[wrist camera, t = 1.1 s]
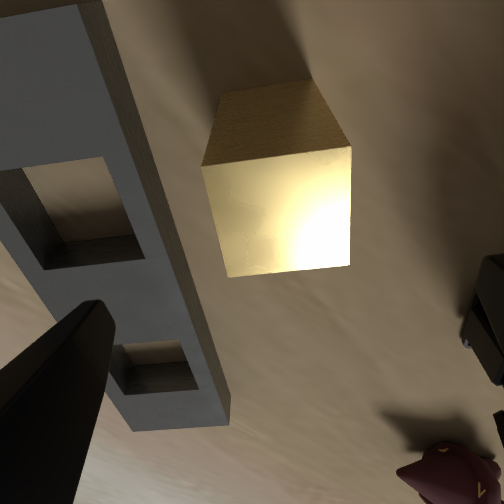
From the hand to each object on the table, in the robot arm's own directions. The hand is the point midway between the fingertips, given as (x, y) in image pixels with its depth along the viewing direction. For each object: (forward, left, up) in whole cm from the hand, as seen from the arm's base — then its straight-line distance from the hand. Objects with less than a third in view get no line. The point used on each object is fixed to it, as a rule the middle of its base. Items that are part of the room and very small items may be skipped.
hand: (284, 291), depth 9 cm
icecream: (-13, +34, -11) cm, 38 cm away
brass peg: (0, 0, -11) cm, 11 cm away
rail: (+10, +8, -11) cm, 17 cm away
